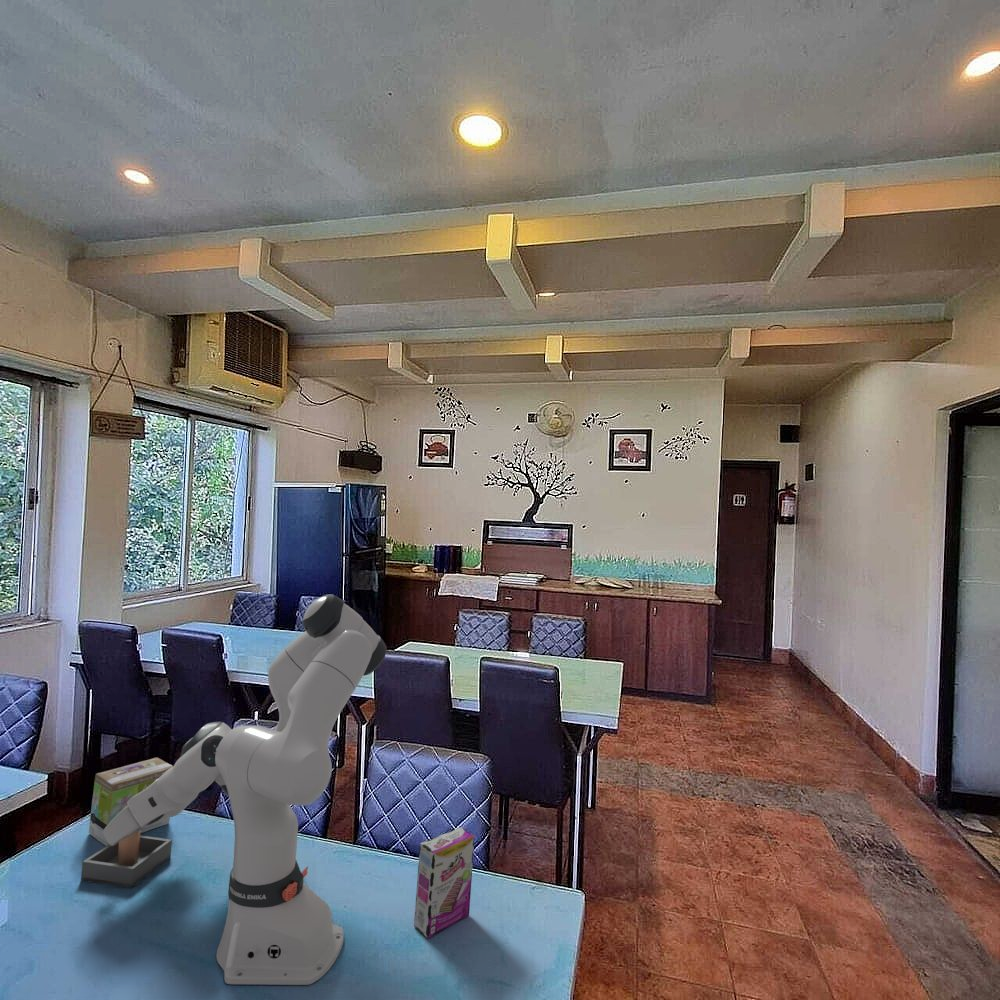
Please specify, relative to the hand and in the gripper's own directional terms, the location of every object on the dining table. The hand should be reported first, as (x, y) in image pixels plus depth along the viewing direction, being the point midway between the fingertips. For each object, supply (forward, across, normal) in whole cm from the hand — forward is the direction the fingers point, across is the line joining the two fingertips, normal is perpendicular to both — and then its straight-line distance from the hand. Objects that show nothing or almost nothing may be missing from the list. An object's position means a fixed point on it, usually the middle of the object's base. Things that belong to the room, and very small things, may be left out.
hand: (131, 831), depth 129 cm
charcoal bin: (+7, -1, +5) cm, 9 cm away
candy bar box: (-44, -8, +57) cm, 73 cm away
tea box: (+17, -14, -4) cm, 22 cm away
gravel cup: (+6, -1, +5) cm, 8 cm away
